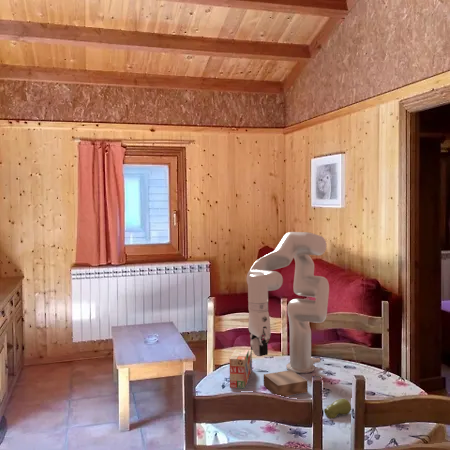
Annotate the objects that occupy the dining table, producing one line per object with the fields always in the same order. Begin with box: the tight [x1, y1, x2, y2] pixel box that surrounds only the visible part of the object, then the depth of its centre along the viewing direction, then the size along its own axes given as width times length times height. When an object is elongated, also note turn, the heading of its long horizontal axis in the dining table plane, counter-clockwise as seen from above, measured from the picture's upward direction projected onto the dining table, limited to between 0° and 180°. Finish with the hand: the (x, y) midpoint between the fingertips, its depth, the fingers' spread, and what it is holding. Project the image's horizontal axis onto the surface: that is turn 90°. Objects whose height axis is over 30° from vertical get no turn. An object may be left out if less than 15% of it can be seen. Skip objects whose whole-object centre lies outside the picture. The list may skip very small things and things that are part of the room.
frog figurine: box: [249, 337, 264, 357], centre depth 184 cm, size 6×7×7 cm
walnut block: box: [263, 370, 309, 397], centre depth 194 cm, size 13×13×5 cm
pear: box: [323, 398, 352, 419], centre depth 170 cm, size 6×5×10 cm
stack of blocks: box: [229, 348, 253, 389], centre depth 206 cm, size 21×6×12 cm, turn 169°
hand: (259, 351), depth 184 cm, fingers closed on frog figurine, 6 cm apart
